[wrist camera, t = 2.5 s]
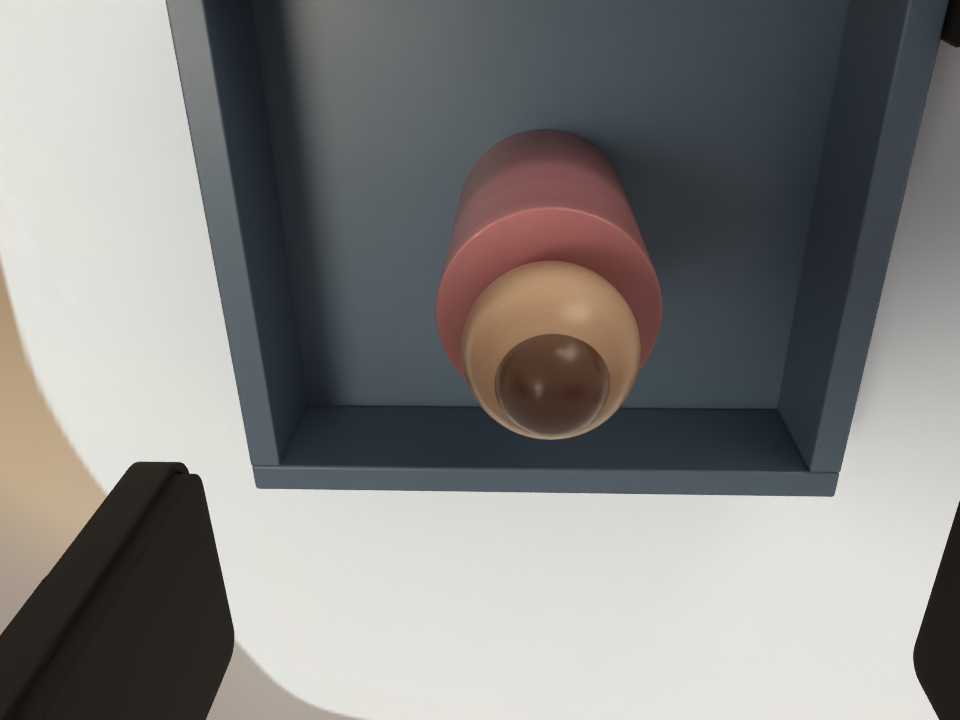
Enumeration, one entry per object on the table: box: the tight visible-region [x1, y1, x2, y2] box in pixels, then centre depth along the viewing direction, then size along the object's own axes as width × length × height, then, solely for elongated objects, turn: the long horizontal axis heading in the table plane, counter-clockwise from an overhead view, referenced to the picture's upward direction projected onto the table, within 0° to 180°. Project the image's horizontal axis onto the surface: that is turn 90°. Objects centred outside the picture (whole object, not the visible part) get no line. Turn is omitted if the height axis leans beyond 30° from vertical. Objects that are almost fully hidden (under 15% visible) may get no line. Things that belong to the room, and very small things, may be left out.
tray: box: [166, 0, 949, 497], centre depth 20 cm, size 14×16×4 cm
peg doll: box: [436, 129, 662, 440], centre depth 17 cm, size 4×4×10 cm
